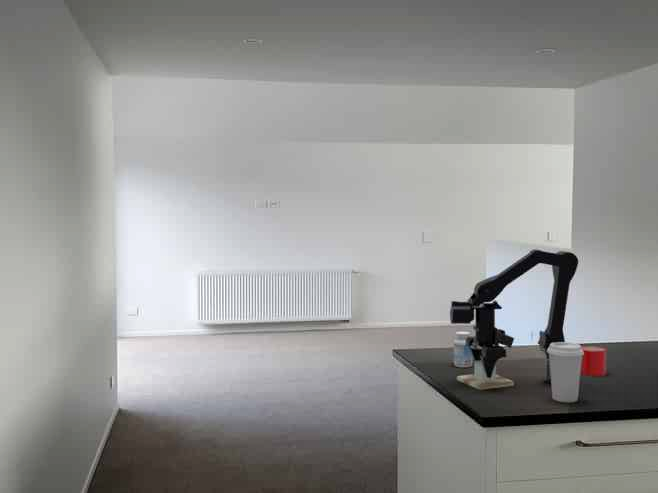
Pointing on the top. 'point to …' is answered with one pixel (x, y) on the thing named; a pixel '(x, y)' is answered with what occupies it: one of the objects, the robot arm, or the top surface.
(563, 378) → the coffee cup
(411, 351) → the top surface
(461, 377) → the holder
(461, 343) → the pill bottle
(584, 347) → the mug
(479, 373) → the cap
